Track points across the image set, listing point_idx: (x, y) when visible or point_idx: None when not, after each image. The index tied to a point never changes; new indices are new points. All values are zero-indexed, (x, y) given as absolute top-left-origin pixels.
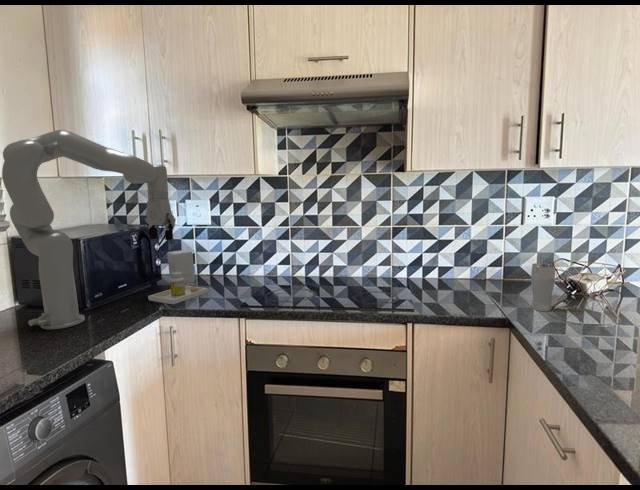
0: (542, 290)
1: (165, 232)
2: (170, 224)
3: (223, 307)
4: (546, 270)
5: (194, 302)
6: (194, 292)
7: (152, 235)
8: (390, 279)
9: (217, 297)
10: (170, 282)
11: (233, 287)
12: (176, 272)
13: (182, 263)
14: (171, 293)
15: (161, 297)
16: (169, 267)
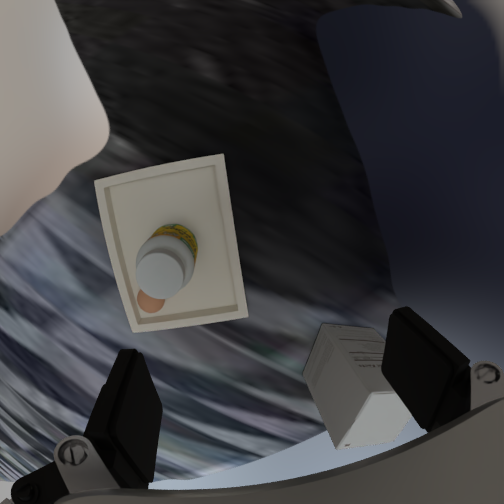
0: None
1: (101, 407)
2: (15, 493)
3: (7, 260)
4: None
5: (89, 244)
6: (118, 278)
7: (405, 347)
8: None
9: (86, 313)
10: (174, 236)
11: None
12: (170, 282)
13: (339, 391)
14: (180, 226)
15: (156, 171)
16: None
